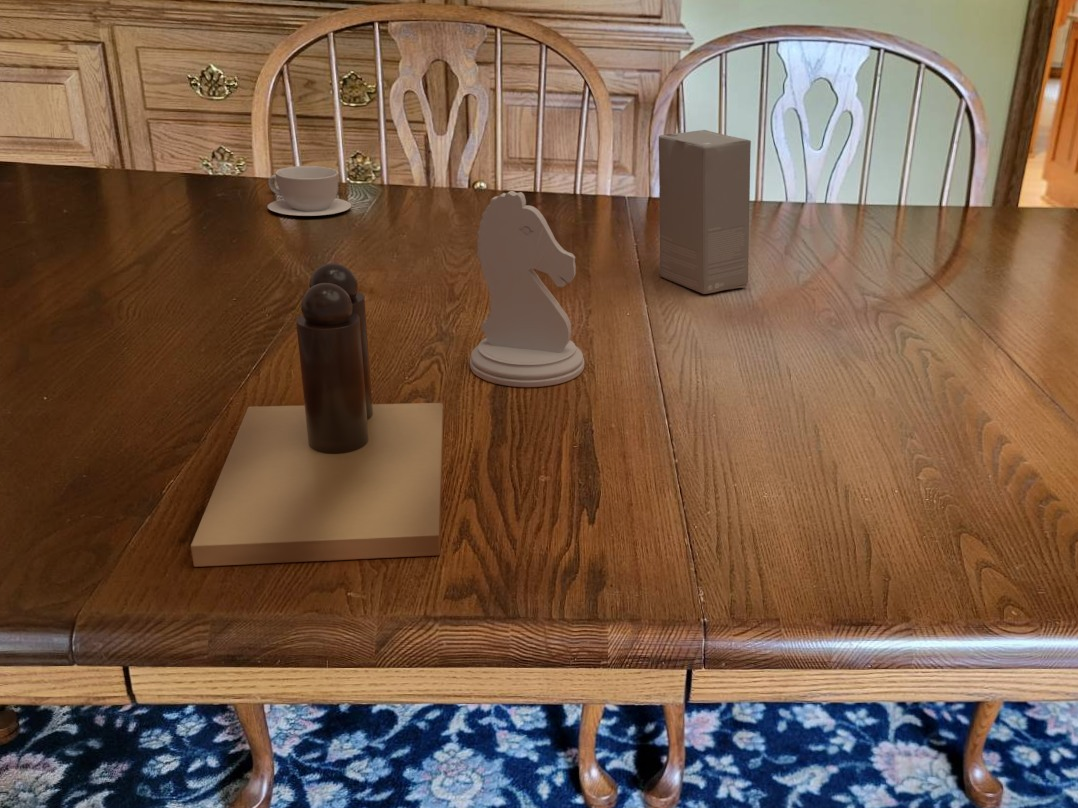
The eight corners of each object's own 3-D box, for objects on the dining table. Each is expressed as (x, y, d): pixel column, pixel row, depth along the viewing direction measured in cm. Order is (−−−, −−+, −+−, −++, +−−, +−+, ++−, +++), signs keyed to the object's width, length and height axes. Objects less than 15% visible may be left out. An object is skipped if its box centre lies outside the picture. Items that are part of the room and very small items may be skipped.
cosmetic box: (748, 288, 120) (761, 140, 113) (696, 298, 116) (706, 144, 109) (701, 268, 126) (711, 126, 119) (650, 276, 122) (656, 129, 115)
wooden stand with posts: (193, 567, 64) (160, 360, 58) (250, 424, 82) (228, 255, 76) (440, 556, 67) (431, 357, 61) (443, 420, 84) (436, 256, 79)
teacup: (364, 204, 142) (361, 167, 140) (331, 222, 133) (328, 183, 131) (289, 197, 143) (286, 160, 141) (252, 215, 134) (248, 176, 132)
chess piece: (569, 393, 91) (571, 212, 84) (454, 380, 92) (447, 201, 85) (595, 352, 100) (598, 186, 93) (489, 341, 100) (485, 175, 94)
